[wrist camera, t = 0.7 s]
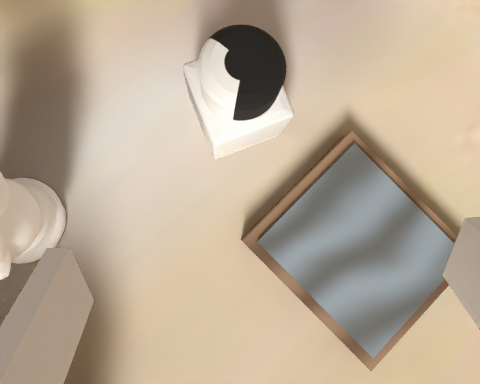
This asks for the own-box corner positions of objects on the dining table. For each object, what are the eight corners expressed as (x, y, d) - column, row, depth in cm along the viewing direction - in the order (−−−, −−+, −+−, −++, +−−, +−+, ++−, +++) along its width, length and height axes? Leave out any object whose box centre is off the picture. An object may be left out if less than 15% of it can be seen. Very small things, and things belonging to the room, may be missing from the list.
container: (254, 70, 38) (272, -4, 25) (280, 135, 38) (312, 93, 25) (188, 94, 38) (172, 30, 25) (214, 160, 37) (212, 131, 24)
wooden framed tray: (240, 239, 37) (242, 241, 34) (343, 136, 38) (354, 129, 35) (360, 360, 37) (373, 373, 34) (459, 252, 38) (479, 255, 35)
